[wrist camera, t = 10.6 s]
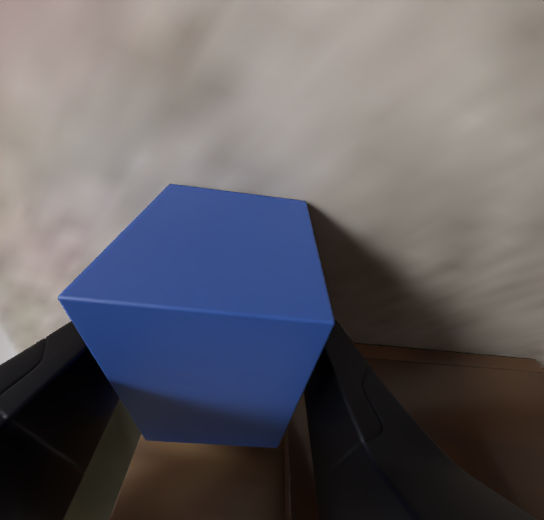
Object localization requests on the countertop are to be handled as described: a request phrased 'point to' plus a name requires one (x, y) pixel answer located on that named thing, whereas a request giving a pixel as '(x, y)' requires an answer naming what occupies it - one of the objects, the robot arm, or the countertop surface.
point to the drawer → (177, 479)
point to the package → (207, 315)
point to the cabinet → (449, 421)
